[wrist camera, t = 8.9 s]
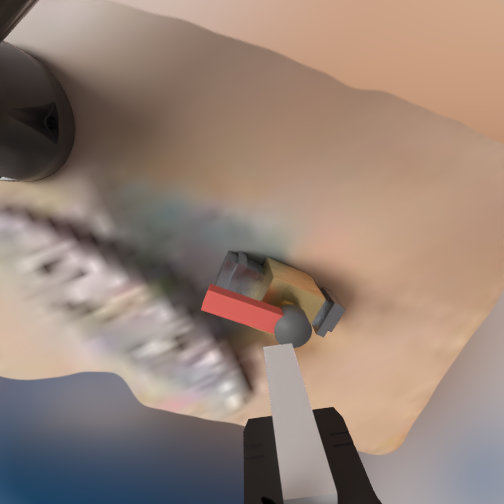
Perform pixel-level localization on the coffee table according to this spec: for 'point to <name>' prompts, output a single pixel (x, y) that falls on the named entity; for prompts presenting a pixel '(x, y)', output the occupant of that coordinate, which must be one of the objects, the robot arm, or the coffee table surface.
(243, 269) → the valve
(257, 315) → the lever
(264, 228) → the coffee table surface
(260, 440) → the robot arm
